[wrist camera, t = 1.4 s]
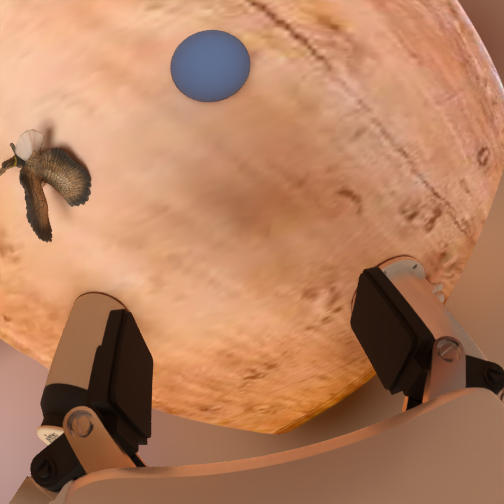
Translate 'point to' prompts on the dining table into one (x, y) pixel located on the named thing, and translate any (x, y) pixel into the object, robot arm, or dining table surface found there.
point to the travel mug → (74, 362)
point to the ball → (210, 66)
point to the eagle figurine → (46, 179)
